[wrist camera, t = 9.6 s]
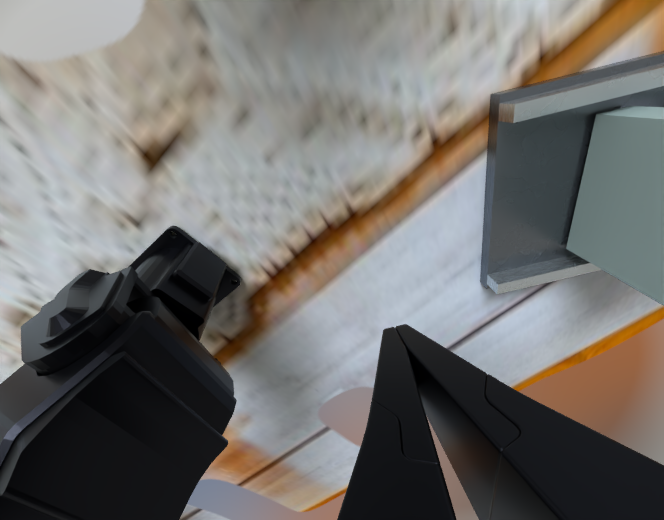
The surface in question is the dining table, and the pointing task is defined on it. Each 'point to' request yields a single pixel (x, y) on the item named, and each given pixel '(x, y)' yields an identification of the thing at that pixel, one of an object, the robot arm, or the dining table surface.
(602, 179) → the bar
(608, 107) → the vise base
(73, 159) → the dining table surface
